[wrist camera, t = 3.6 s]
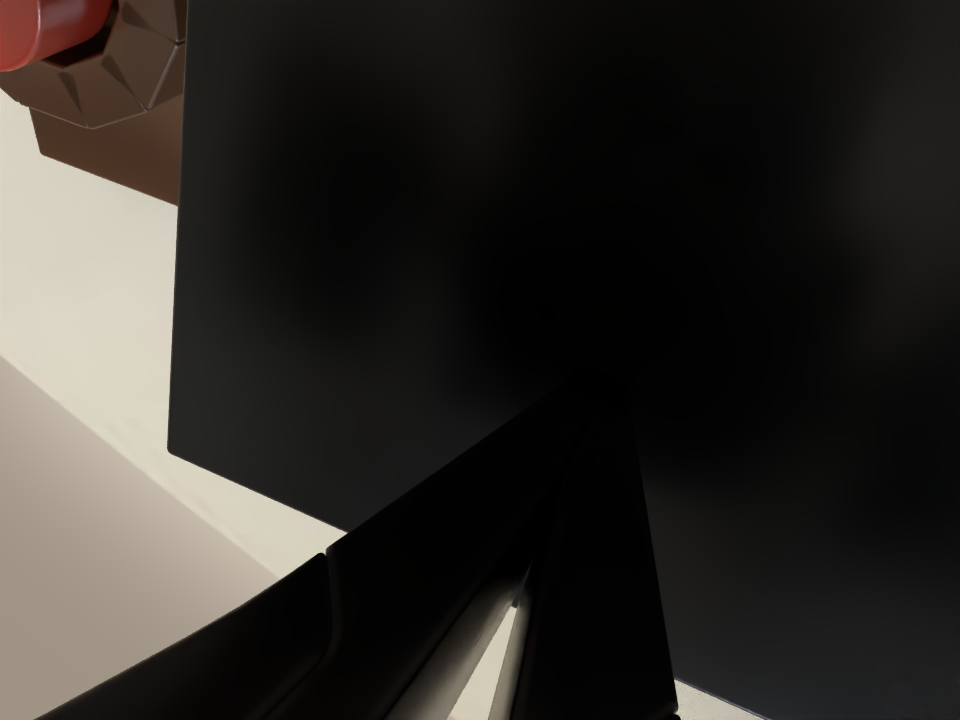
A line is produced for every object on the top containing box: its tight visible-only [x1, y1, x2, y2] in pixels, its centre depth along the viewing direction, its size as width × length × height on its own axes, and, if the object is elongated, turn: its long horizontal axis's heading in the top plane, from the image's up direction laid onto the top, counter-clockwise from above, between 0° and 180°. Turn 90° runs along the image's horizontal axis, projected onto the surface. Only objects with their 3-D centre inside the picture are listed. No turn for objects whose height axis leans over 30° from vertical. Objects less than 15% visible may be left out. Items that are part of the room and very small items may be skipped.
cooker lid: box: [167, 0, 960, 720], centre depth 7 cm, size 12×11×1 cm
